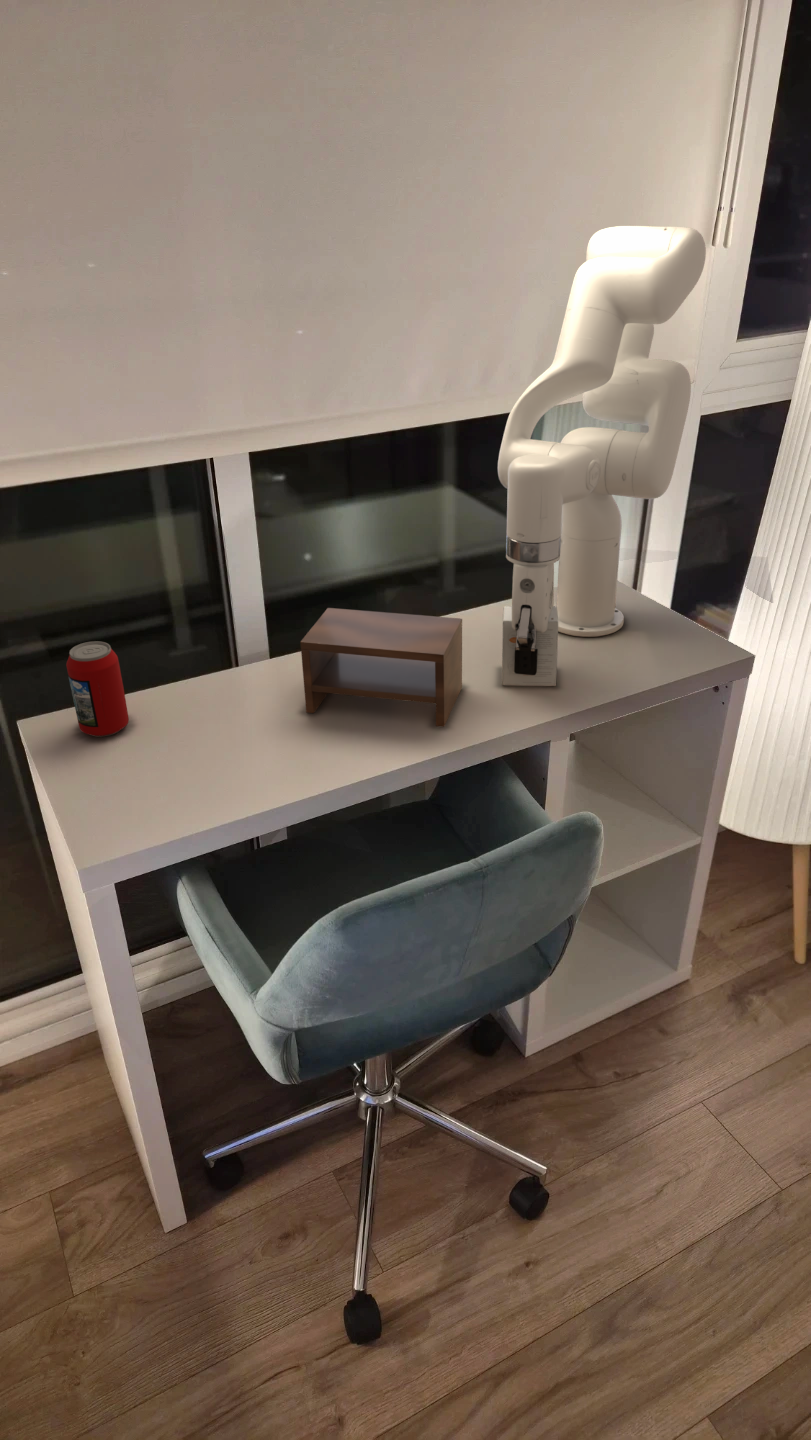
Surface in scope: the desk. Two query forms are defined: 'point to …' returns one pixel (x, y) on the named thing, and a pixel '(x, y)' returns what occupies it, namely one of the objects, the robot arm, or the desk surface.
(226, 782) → the desk surface
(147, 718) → the desk surface
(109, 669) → the beverage can
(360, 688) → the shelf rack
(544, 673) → the small box
